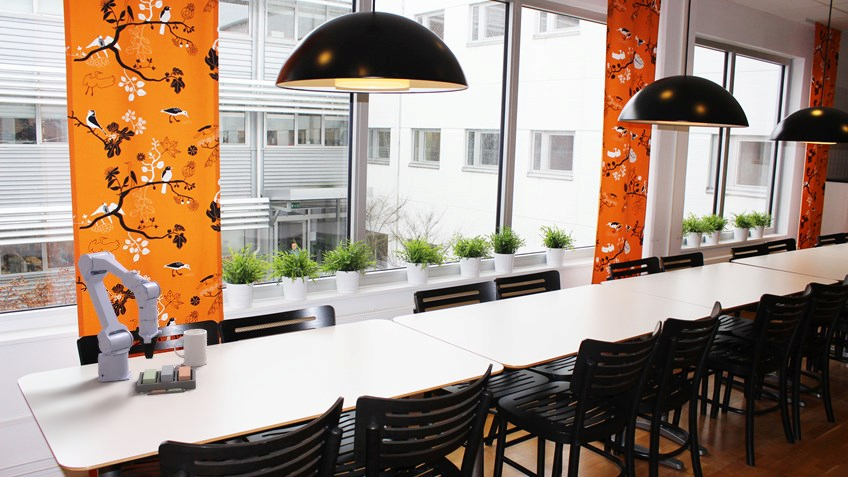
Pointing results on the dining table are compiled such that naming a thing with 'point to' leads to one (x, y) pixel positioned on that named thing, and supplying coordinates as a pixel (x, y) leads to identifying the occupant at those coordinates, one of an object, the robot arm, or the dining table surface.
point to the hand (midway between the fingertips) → (149, 358)
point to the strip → (166, 391)
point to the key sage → (149, 376)
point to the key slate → (167, 373)
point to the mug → (194, 347)
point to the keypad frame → (166, 385)
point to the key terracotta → (184, 373)
